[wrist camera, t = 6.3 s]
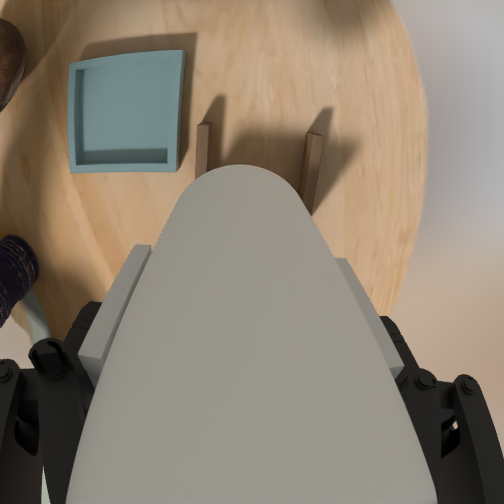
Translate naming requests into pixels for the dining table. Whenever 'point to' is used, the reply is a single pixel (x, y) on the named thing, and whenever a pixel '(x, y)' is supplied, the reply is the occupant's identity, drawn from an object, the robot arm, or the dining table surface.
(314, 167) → the holder
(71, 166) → the tray
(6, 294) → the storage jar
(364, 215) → the dining table surface
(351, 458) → the cup
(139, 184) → the dining table surface
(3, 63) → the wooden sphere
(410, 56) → the dining table surface
